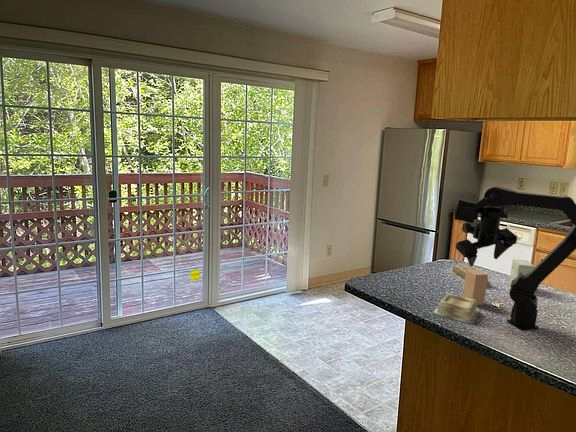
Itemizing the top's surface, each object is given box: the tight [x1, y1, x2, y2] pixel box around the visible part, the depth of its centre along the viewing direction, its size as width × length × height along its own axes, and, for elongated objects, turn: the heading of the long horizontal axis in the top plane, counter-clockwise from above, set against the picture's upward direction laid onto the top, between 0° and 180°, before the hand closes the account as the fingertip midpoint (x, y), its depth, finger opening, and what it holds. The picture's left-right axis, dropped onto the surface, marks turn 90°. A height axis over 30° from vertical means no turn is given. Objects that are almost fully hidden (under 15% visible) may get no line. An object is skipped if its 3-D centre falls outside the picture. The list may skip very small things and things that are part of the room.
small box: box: [508, 258, 535, 287], centre depth 166 cm, size 8×6×10 cm
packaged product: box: [447, 262, 492, 288], centre depth 175 cm, size 18×5×10 cm
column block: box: [461, 269, 489, 306], centre depth 149 cm, size 5×5×11 cm
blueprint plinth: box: [432, 293, 481, 325], centre depth 140 cm, size 12×12×4 cm
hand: (483, 262), depth 144 cm, fingers open, 9 cm apart
